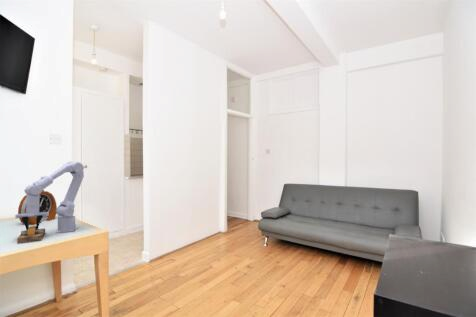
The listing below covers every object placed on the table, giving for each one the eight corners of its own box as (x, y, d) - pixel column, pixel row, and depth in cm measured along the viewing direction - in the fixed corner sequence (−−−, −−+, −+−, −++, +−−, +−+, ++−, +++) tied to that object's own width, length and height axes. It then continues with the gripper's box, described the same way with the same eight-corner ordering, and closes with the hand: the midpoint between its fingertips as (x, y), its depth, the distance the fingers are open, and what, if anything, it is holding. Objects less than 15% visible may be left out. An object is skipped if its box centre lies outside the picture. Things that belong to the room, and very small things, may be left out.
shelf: (45, 233, 148) (45, 225, 148) (41, 240, 135) (41, 232, 135) (23, 235, 143) (23, 227, 142) (17, 243, 130) (17, 235, 130)
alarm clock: (29, 226, 161) (30, 192, 161) (17, 225, 163) (17, 191, 163) (59, 218, 183) (59, 188, 183) (47, 217, 184) (48, 187, 184)
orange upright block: (36, 234, 142) (36, 225, 142) (34, 238, 136) (34, 228, 136) (30, 235, 141) (30, 226, 141) (27, 239, 135) (27, 229, 135)
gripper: (14, 208, 131) (13, 233, 132) (47, 206, 139) (47, 229, 139) (17, 205, 137) (16, 229, 138) (49, 203, 145) (49, 226, 145)
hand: (32, 229), depth 139 cm, fingers open, 4 cm apart
